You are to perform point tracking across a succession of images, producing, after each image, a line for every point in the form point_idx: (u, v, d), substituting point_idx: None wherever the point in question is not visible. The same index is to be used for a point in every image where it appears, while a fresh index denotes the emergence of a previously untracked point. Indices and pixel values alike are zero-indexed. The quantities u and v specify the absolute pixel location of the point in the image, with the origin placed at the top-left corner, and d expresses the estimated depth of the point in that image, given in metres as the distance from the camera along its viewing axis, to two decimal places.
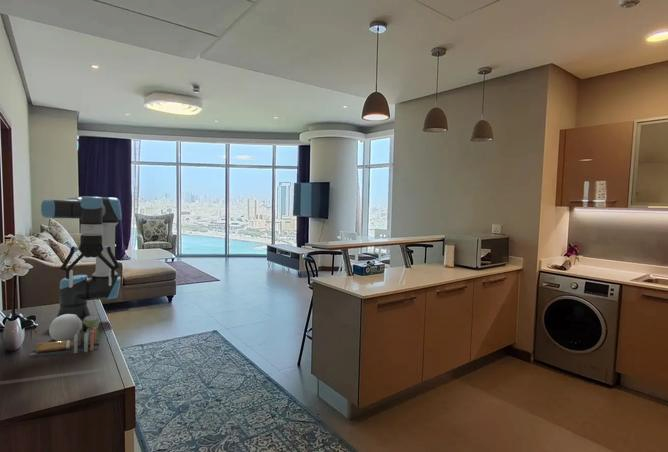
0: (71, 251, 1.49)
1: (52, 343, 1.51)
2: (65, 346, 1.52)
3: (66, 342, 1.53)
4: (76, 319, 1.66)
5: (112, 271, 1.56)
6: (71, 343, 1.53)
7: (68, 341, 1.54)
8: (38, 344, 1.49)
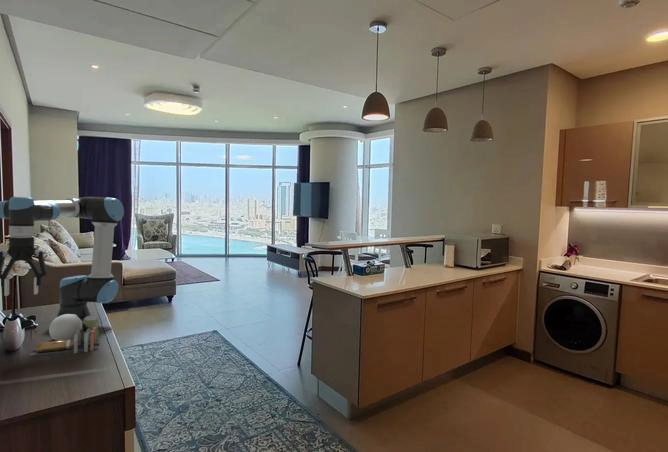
0: (0, 256, 1.42)
1: (52, 342, 1.52)
2: (65, 344, 1.53)
3: (66, 341, 1.54)
4: (76, 319, 1.66)
5: (38, 279, 1.48)
6: (71, 342, 1.54)
7: (68, 340, 1.54)
8: (39, 343, 1.50)
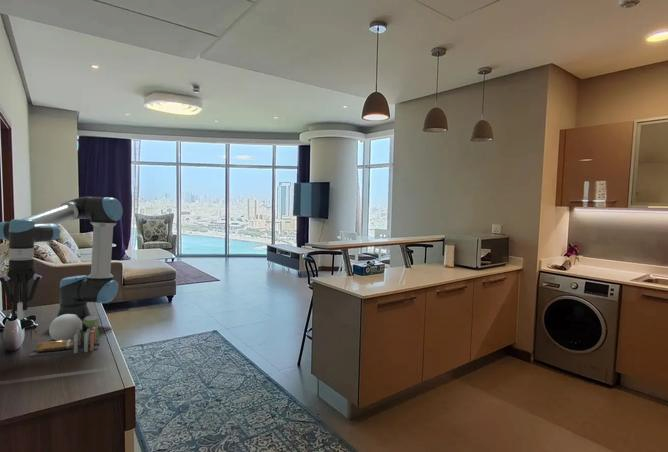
0: (3, 282, 1.42)
1: (53, 341, 1.52)
2: (66, 343, 1.53)
3: (67, 340, 1.54)
4: (76, 319, 1.66)
5: (24, 304, 1.46)
6: (71, 341, 1.54)
7: None
8: None
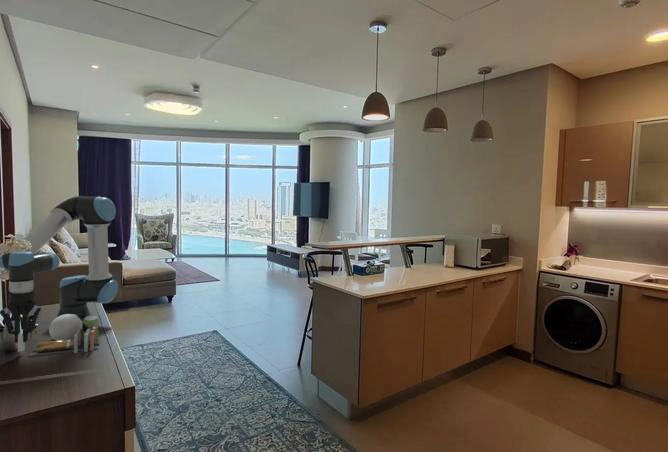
0: (3, 315, 1.43)
1: (53, 341, 1.52)
2: (66, 343, 1.53)
3: (67, 340, 1.54)
4: (76, 319, 1.66)
5: (24, 335, 1.47)
6: (71, 341, 1.54)
7: None
8: None
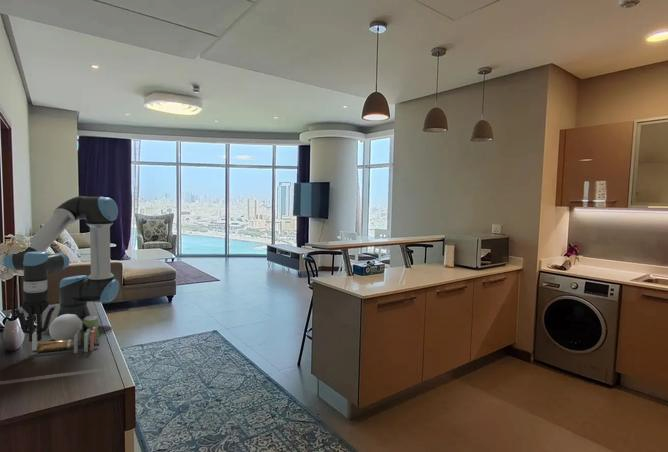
0: (18, 314, 1.45)
1: (53, 341, 1.52)
2: (66, 343, 1.53)
3: (67, 340, 1.54)
4: (76, 319, 1.66)
5: (38, 334, 1.49)
6: (72, 341, 1.54)
7: (69, 339, 1.55)
8: None
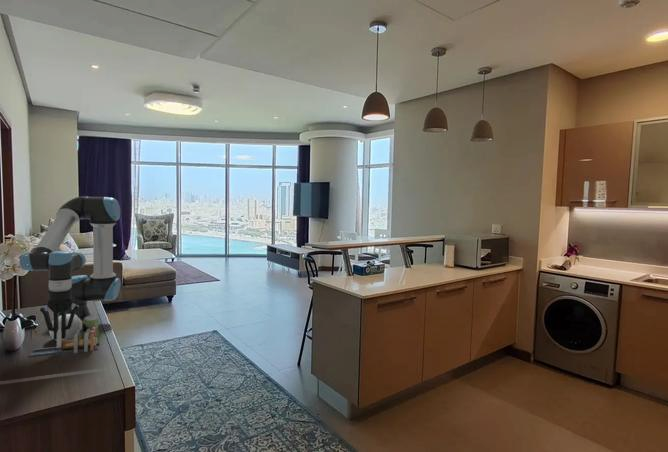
0: (43, 312, 1.49)
1: None
2: (89, 341, 1.56)
3: (90, 338, 1.58)
4: (76, 319, 1.66)
5: (63, 332, 1.52)
6: (95, 338, 1.58)
7: None
8: (63, 340, 1.54)
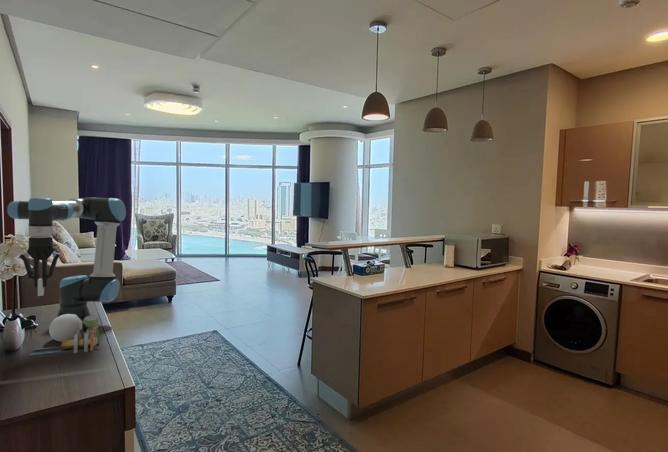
0: (23, 259, 1.46)
1: None
2: (89, 341, 1.57)
3: (90, 338, 1.58)
4: (76, 319, 1.66)
5: (44, 280, 1.50)
6: (95, 338, 1.58)
7: None
8: (64, 340, 1.54)
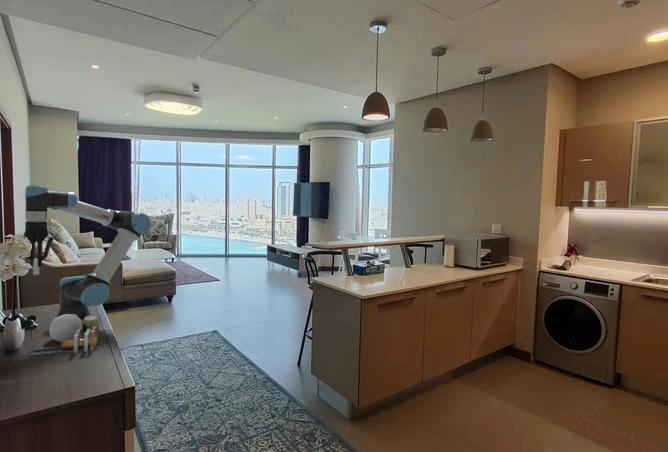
0: None
1: None
2: (89, 341, 1.57)
3: (90, 338, 1.58)
4: (76, 319, 1.66)
5: (39, 261, 1.64)
6: (95, 338, 1.58)
7: None
8: (64, 340, 1.54)
